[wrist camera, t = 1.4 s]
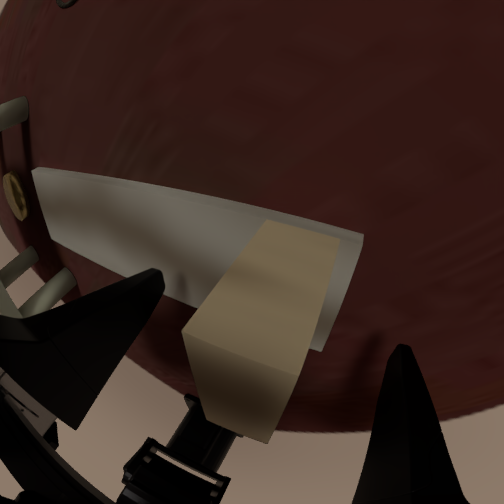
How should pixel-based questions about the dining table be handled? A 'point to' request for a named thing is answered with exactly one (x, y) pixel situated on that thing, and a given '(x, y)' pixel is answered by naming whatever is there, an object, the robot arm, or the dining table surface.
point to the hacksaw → (64, 5)
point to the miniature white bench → (56, 286)
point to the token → (16, 195)
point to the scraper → (216, 280)
